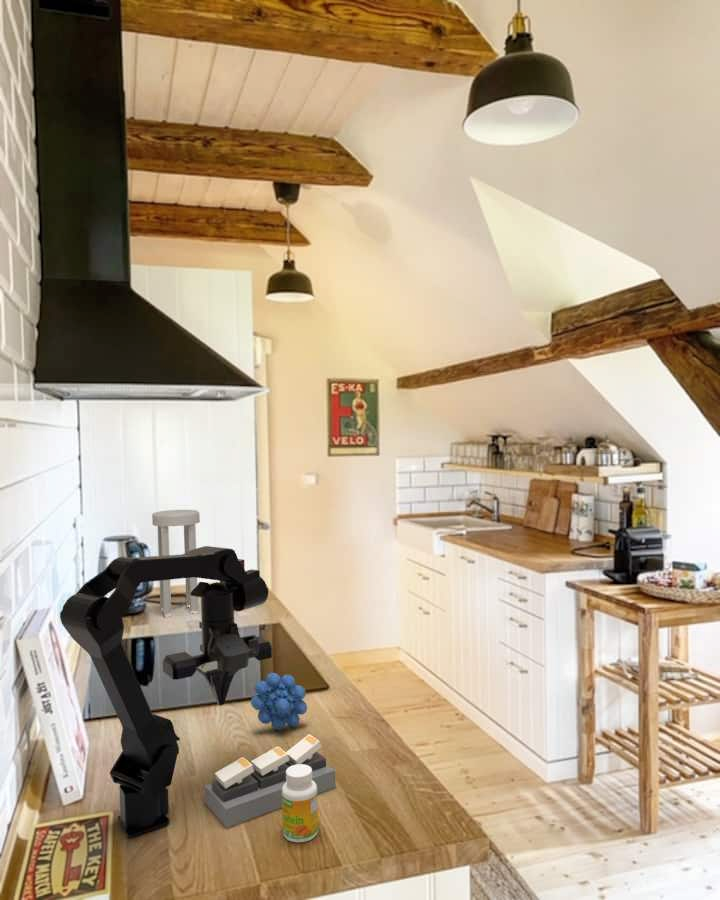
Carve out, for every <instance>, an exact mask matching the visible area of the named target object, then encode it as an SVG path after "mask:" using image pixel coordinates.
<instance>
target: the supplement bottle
mask: <svg viewBox="0 0 720 900" xmlns="http://www.w3.org/2000/svg"><path fill="white" fill-rule="evenodd" d="M286 781H287V782H286V783H285V784H284V785H283V788H282V808H281V809H282V813H281V814H282V834H283V837H284V838H285V840H287V841H289V842H291V843H292V842H293V843H305V842H308V841H311V840H312V839H314V838H315V837H316V836H317V834H318V832H319V807H318V794H317V786H316V783H315V782H314V781H313V780H312V768H311V767H310V766H308V765H305V764H296V765H292V766H290V767H289V768H287V770H286Z"/></svg>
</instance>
